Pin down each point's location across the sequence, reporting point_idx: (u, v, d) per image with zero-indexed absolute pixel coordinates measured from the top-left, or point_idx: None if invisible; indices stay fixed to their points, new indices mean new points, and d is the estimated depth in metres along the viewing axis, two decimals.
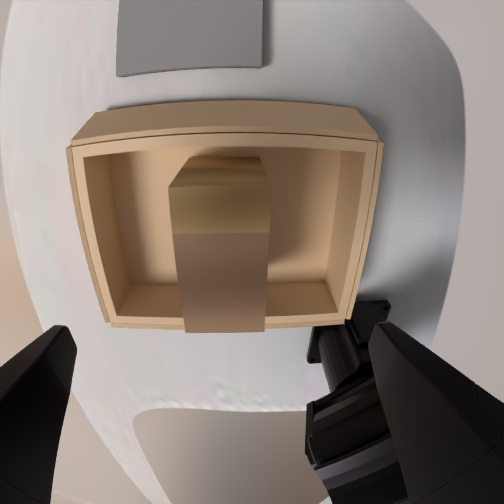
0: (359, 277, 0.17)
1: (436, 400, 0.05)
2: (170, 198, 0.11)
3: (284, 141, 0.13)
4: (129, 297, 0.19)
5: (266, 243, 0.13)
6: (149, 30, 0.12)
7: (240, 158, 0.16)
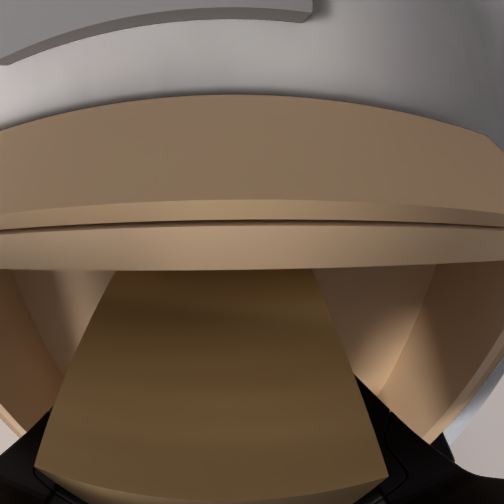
0: (443, 428, 0.08)
1: None
2: (56, 481, 0.02)
3: (408, 249, 0.04)
4: None
5: None
6: None
7: None
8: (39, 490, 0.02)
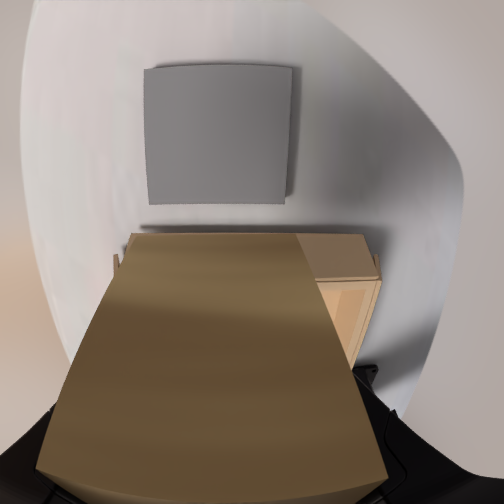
0: (351, 366, 0.21)
1: None
2: (57, 483, 0.02)
3: None
4: None
5: None
6: (178, 161, 0.16)
7: (254, 244, 0.07)
8: (38, 489, 0.03)
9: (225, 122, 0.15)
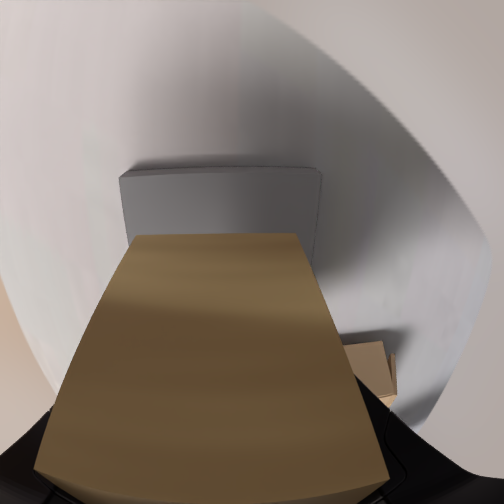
0: None
1: None
2: (55, 483, 0.02)
3: None
4: None
5: None
6: None
7: (255, 243, 0.07)
8: (38, 489, 0.02)
9: None
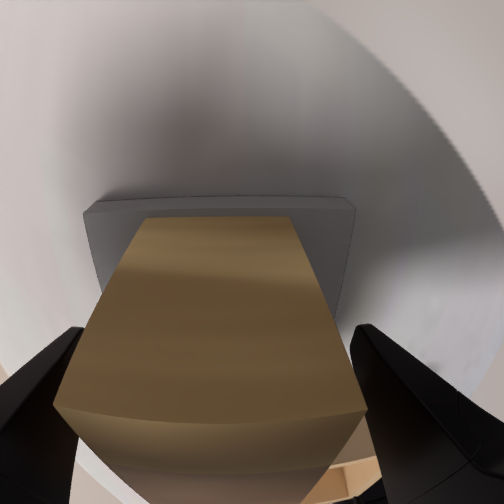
0: (369, 485, 0.16)
1: (414, 407, 0.05)
2: (70, 423, 0.03)
3: (329, 467, 0.12)
4: None
5: (319, 473, 0.04)
6: None
7: (252, 224, 0.08)
8: None
9: None
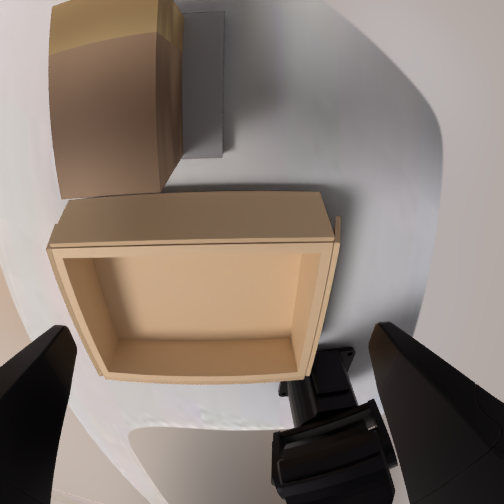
0: (315, 347, 0.19)
1: (436, 400, 0.05)
2: (52, 16, 0.06)
3: (240, 250, 0.15)
4: (117, 353, 0.21)
5: (152, 46, 0.07)
6: None
7: None
8: None
9: None
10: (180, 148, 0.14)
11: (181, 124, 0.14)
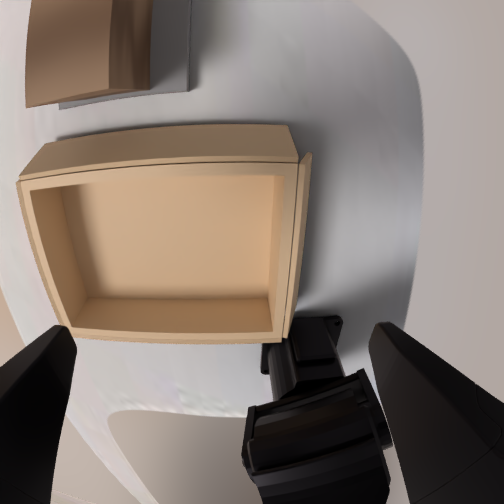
0: (290, 298, 0.17)
1: (436, 400, 0.05)
2: None
3: (197, 170, 0.13)
4: (84, 310, 0.19)
5: None
6: None
7: None
8: None
9: None
10: (145, 80, 0.13)
11: (148, 60, 0.13)
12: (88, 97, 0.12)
